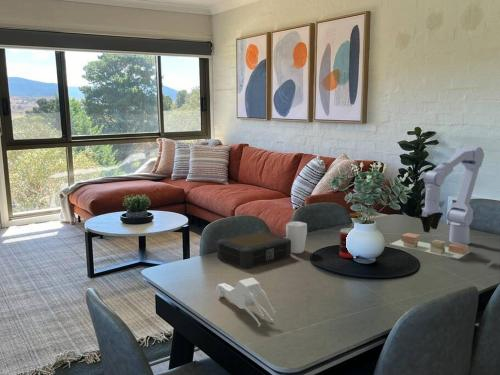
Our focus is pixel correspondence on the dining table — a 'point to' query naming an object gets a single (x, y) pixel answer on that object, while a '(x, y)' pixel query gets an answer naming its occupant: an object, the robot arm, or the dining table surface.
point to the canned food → (344, 243)
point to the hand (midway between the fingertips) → (430, 230)
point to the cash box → (253, 249)
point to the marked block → (410, 244)
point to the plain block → (437, 246)
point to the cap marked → (410, 238)
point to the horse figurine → (245, 295)
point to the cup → (296, 235)
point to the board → (426, 248)
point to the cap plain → (458, 248)
